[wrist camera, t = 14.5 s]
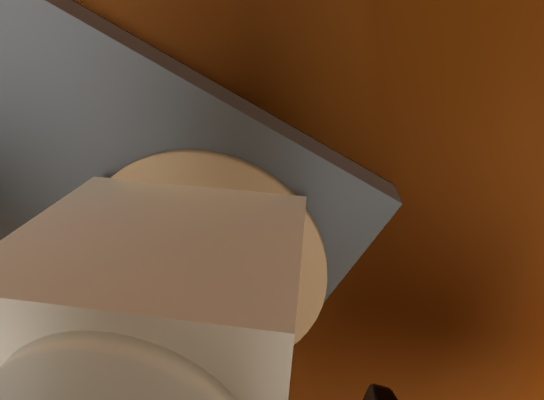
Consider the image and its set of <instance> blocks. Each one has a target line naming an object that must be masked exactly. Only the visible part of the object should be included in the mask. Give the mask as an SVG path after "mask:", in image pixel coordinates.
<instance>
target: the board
mask: <svg viewBox="0 0 544 400" xmlns="http://www.w3.org/2000/svg"><path fill="white" fill-rule="evenodd" d="M92 177H104V178H115V179H126V180H136V181H147V182H158V183H168V184H179V185H190V186H201V187H211V188H222V189H233V190H243V191H254V192H265V193H276V194H286V195H297V196H307V198H306V209H305V221H304V232H303V244H302V255H301V267H300V278H299V290H298V301H297V313H296V324H295V336H294V344H296V343H297V342H298V341H300V340H301V338H302V337H303V336H304V335H305V334H306V333H307V332H308V331H309V330H310V328H311V327H312V325H313V324H314V322H315V321H316V319H317V317H318V315H319V313H320V311H321V309H322V306H323V303H324V302H325V301H326V299H327V298H328V297H329V296H330V294H331V293H332V292H333V290H334V289H335V288H336V287H337V285H338V284H339V283H340V282H341V280H342V279H343V278H344V277H345V275H346V274H347V273H348V272H349V270H350V269H351V268H352V267H353V265H354V264H355V263H356V262H357V260H358V259H359V258H360V257H361V255H362V254H363V253H364V252H365V250H366V249H367V248H368V247H369V245H370V244H371V243H372V242H373V240H374V239H375V238H376V237H377V235H378V234H379V233H380V231H381V230H382V229H383V228H384V226H385V225H386V224H387V223H388V221H389V220H390V219H391V218H392V216H393V215H394V214H395V213H396V211H397V210H398V209H399V208H400V206H401V205H402V204H403V203H402V201H401V199H400V197H399V194H398V192H397V190H396V188H395V185H393V184H391V183H390V182H388V181H386V180H384V179H383V178H381V177H379V176H377V175H376V174H374V173H372V172H370V171H369V170H367V169H365V168H364V167H362V166H360V165H358V164H357V163H355V162H353V161H351V160H350V159H348V158H346V157H344V156H343V155H341V154H339V153H337V152H336V151H334V150H332V149H330V148H329V147H327V146H325V145H323V144H322V143H320V142H318V141H316V140H315V139H313V138H311V137H309V136H308V135H306V134H304V133H302V132H301V131H299V130H297V129H295V128H294V127H292V126H290V125H289V124H287V123H285V122H283V121H282V120H280V119H278V118H276V117H275V116H273V115H271V114H269V113H268V112H266V111H264V110H262V109H261V108H259V107H257V106H255V105H254V104H252V103H250V102H248V101H247V100H245V99H243V98H241V97H240V96H238V95H236V94H234V93H233V92H231V91H229V90H227V89H226V88H224V87H222V86H221V85H219V84H217V83H215V82H214V81H212V80H210V79H208V78H207V77H205V76H203V75H201V74H200V73H198V72H196V71H194V70H193V69H191V68H189V67H187V66H186V65H184V64H182V63H180V62H179V61H177V60H175V59H173V58H172V57H170V56H168V55H166V54H165V53H163V52H161V51H159V50H158V49H156V48H154V47H152V46H151V45H149V44H147V43H146V42H144V41H142V40H140V39H139V38H137V37H135V36H133V35H132V34H130V33H128V32H126V31H125V30H123V29H121V28H119V27H118V26H116V25H114V24H112V23H111V22H109V21H107V20H105V19H104V18H102V17H100V16H98V15H97V14H95V13H93V12H91V11H90V10H88V9H86V8H84V7H83V6H81V5H79V4H78V3H76V2H74V1H72V0H0V240H2V239H3V238H5V237H6V236H8V235H9V234H10V233H12V232H13V231H15V230H16V229H18V228H19V227H21V226H22V225H24V224H25V223H27V222H28V221H29V220H31V219H32V218H34V217H35V216H37V215H38V214H40V213H41V212H43V211H44V210H46V209H47V208H49V207H50V206H51V205H53V204H54V203H56V202H57V201H59V200H60V199H62V198H63V197H65V196H66V195H68V194H69V193H70V192H72V191H73V190H75V189H76V188H78V187H79V186H81V185H82V184H84V183H85V182H87V181H88V180H89V179H91V178H92Z"/></svg>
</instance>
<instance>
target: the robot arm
mask: <svg viewBox="0 0 544 400" xmlns="http://www.w3.org/2000/svg"><path fill="white" fill-rule="evenodd" d="M363 400H398V399H397V398H396V396H395V394H394V393H393V391H392V390H391V389H390V388H388V387H385V386H381V385H376V384H371V385H370V386H369V387H368V389H367V392H366V394H365V396H364V398H363Z"/></svg>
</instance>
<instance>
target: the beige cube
mask: <svg viewBox="0 0 544 400" xmlns="http://www.w3.org/2000/svg"><path fill="white" fill-rule="evenodd" d="M306 198H307V196H297V195H286V194H276V193H265V192H254V191H243V190H233V189H222V188H211V187H201V186H190V185H179V184H168V183H158V182H147V181H136V180H126V179H115V178H104V177H92V178H91V179H89V180H88V181H87V182H85V183H84V184H82V185H81V186H79V187H78V188H76V189H75V190H73V191H72V192H70V193H69V194H68V195H66V196H65V197H63V198H62V199H60V200H59V201H57V202H56V203H54V204H53V205H51V206H50V207H49V208H47V209H46V210H44V211H43V212H41V213H40V214H38V215H37V216H35V217H34V218H32V219H31V220H29V221H28V222H27V223H25V224H24V225H22V226H21V227H19V228H18V229H16V230H15V231H13V232H12V233H10V234H9V235H8V236H6V237H5V238H3V239H2V240H0V400H288V397H289V386H290V376H291V366H292V356H293V346H294V336H295V324H296V313H297V301H298V290H299V278H300V267H301V255H302V244H303V232H304V221H305V209H306Z"/></svg>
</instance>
